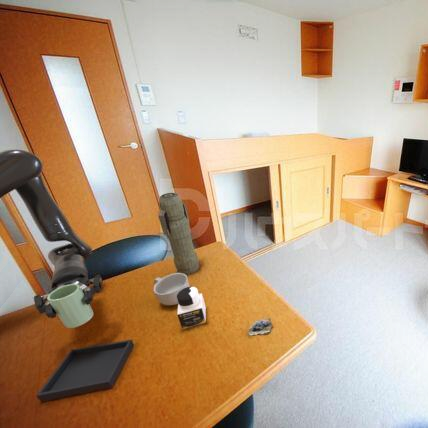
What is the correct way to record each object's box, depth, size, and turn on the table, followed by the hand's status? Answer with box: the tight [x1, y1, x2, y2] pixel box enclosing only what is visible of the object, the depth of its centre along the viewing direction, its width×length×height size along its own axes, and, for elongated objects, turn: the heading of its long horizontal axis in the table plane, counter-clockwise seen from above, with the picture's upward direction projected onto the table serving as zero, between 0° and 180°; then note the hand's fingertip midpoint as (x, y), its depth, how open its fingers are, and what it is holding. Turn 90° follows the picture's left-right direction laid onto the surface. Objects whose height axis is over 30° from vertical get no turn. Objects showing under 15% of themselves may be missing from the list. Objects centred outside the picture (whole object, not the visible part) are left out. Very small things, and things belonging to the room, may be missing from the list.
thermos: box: [157, 192, 200, 276], centre depth 98 cm, size 9×12×35 cm
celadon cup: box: [47, 284, 95, 329], centre depth 64 cm, size 6×6×10 cm
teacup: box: [153, 272, 191, 306], centre depth 88 cm, size 14×11×8 cm
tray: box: [35, 339, 135, 402], centre depth 65 cm, size 15×12×3 cm
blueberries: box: [247, 318, 274, 336], centre depth 78 cm, size 7×8×2 cm
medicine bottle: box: [176, 286, 207, 330], centre depth 79 cm, size 7×7×12 cm
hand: (70, 308), depth 62 cm, fingers closed on celadon cup, 6 cm apart
